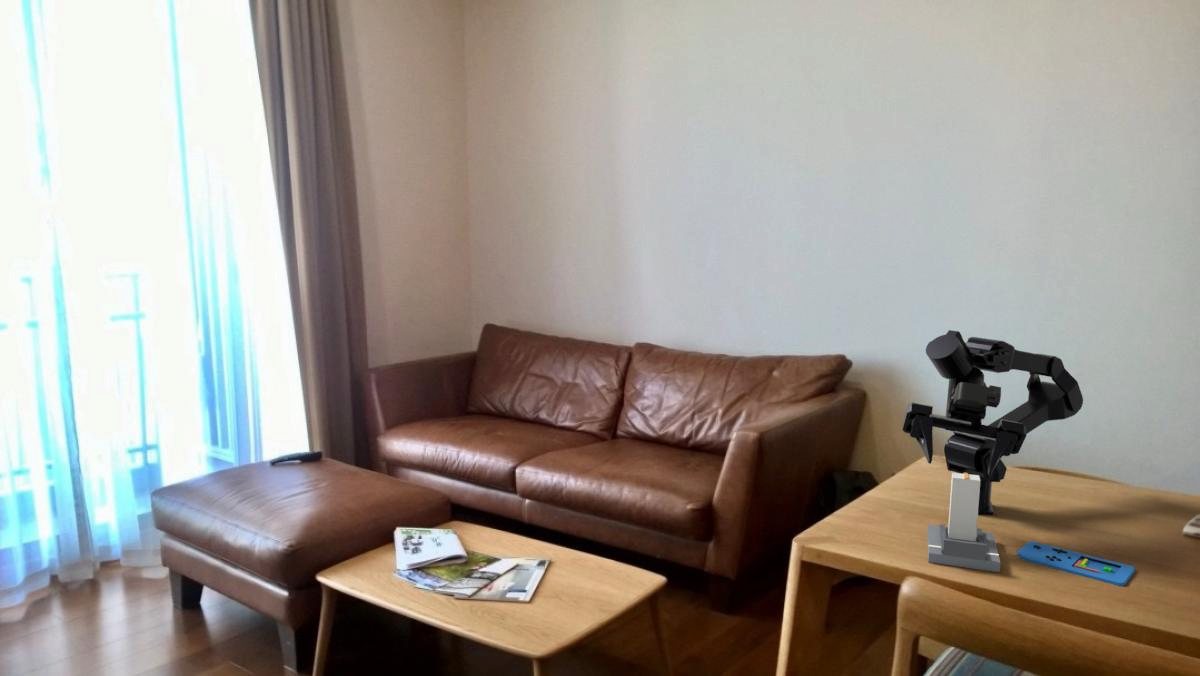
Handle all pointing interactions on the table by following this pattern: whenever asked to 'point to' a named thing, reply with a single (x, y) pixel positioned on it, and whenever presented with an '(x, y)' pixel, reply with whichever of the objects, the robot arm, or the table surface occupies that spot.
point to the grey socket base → (963, 550)
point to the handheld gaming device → (1076, 563)
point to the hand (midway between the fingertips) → (959, 468)
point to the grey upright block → (964, 506)
